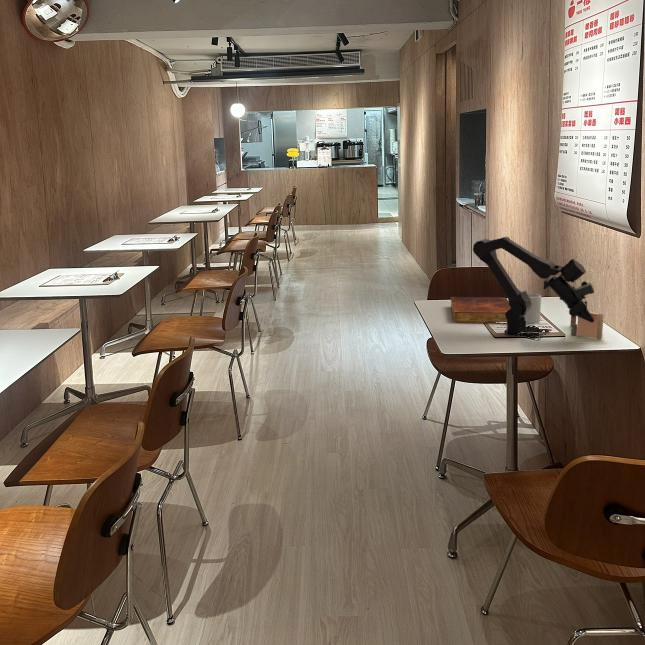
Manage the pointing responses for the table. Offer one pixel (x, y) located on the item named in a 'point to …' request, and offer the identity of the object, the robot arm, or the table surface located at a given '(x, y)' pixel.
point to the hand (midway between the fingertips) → (593, 321)
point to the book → (479, 309)
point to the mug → (534, 309)
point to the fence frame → (573, 326)
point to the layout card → (581, 338)
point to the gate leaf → (591, 326)
